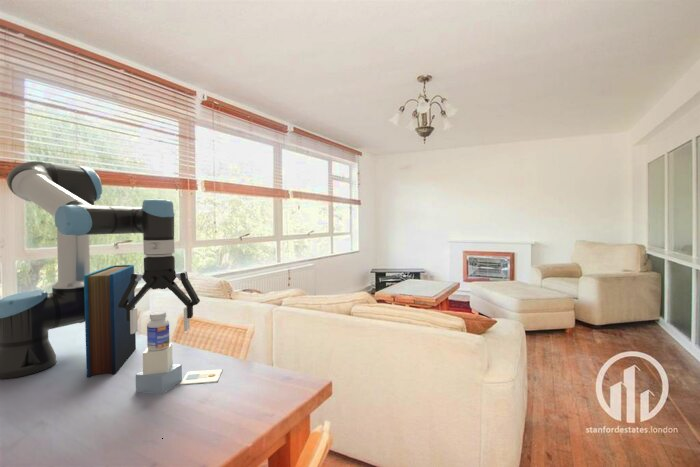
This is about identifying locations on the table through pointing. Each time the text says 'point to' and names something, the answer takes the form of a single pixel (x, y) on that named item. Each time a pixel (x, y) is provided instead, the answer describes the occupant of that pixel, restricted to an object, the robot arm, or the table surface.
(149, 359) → the cream cube
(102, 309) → the book
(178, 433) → the table surface
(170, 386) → the base block
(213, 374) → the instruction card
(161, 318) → the pill bottle
